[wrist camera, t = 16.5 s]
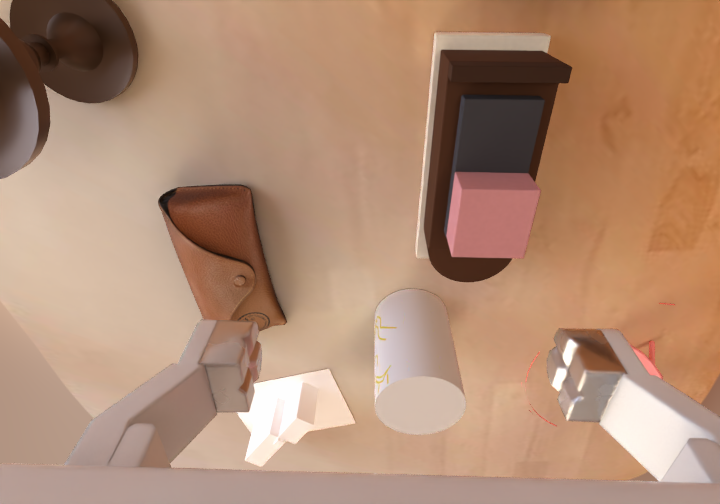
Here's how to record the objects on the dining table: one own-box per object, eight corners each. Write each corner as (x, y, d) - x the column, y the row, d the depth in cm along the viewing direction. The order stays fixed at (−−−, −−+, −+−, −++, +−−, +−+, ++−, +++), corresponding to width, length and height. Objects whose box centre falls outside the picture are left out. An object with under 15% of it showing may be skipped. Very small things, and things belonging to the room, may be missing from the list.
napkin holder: (256, 441, 64) (247, 480, 59) (219, 390, 58) (205, 429, 53) (357, 423, 61) (355, 462, 56) (328, 367, 55) (324, 406, 50)
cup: (371, 291, 48) (371, 378, 38) (447, 286, 48) (467, 374, 38) (377, 345, 53) (378, 436, 43) (447, 341, 52) (464, 433, 42)
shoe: (434, 31, 34) (448, 48, 28) (544, 32, 34) (583, 50, 28) (414, 250, 45) (421, 297, 39) (498, 251, 45) (518, 299, 39)
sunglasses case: (292, 326, 51) (251, 367, 46) (247, 310, 54) (206, 346, 50) (250, 180, 41) (193, 215, 37) (199, 172, 45) (142, 202, 40)
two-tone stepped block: (461, 94, 31) (472, 111, 28) (540, 95, 31) (561, 113, 27) (443, 230, 37) (451, 259, 34) (509, 232, 37) (523, 261, 34)
